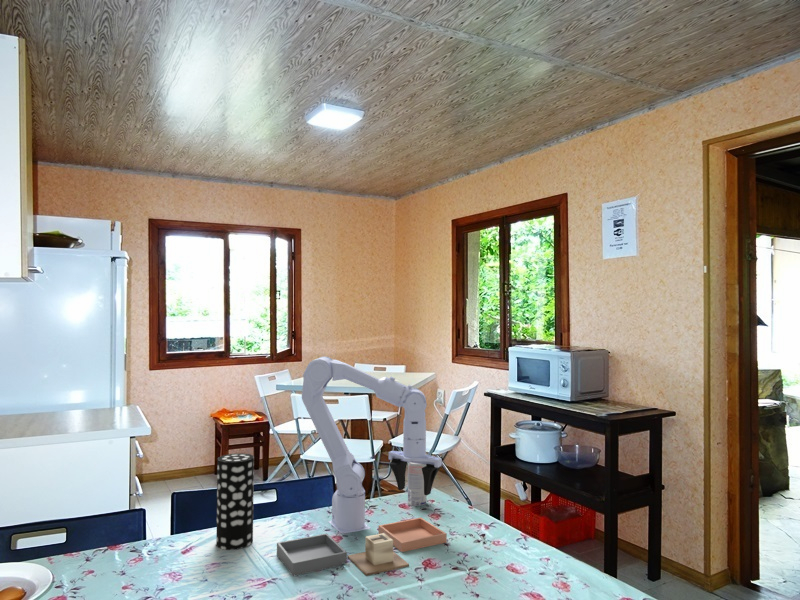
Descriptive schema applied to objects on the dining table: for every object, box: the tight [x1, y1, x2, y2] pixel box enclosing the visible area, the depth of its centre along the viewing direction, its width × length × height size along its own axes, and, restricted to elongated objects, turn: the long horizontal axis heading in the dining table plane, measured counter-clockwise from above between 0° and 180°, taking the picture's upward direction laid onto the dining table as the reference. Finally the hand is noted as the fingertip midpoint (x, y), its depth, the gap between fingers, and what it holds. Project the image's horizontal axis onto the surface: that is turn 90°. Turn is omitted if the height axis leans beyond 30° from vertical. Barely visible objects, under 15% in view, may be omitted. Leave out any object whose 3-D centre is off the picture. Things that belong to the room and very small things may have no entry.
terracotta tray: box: [378, 517, 447, 553], centre depth 136 cm, size 12×12×3 cm
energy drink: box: [407, 462, 427, 507], centre depth 163 cm, size 5×5×12 cm
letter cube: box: [364, 533, 394, 565], centre depth 123 cm, size 4×4×5 cm
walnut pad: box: [347, 550, 410, 577], centre depth 123 cm, size 10×10×1 cm
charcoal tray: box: [276, 533, 348, 577], centre depth 126 cm, size 12×12×3 cm
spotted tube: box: [215, 452, 255, 551], centre depth 135 cm, size 8×8×20 cm
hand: (414, 491), depth 144 cm, fingers open, 7 cm apart
